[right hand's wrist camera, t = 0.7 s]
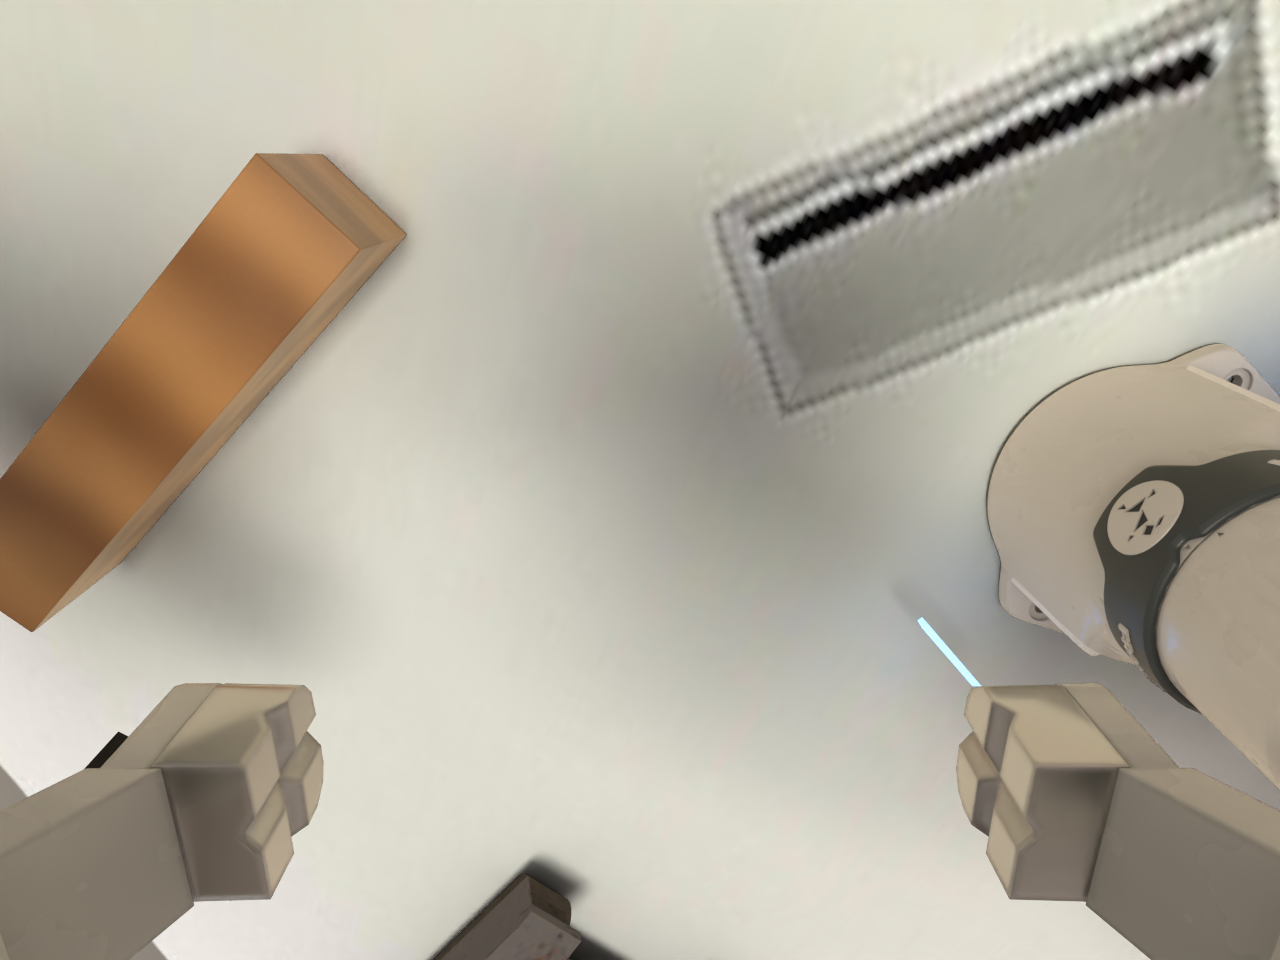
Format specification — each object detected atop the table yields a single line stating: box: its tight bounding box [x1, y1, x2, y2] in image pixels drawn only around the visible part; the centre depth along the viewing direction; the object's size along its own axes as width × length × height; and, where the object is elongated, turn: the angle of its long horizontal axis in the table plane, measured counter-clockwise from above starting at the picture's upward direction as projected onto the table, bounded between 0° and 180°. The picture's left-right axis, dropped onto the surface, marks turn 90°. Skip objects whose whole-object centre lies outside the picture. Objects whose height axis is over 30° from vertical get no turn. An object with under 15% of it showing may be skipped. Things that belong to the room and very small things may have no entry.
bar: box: [0, 153, 406, 632], centre depth 42 cm, size 27×6×8 cm, turn 135°
